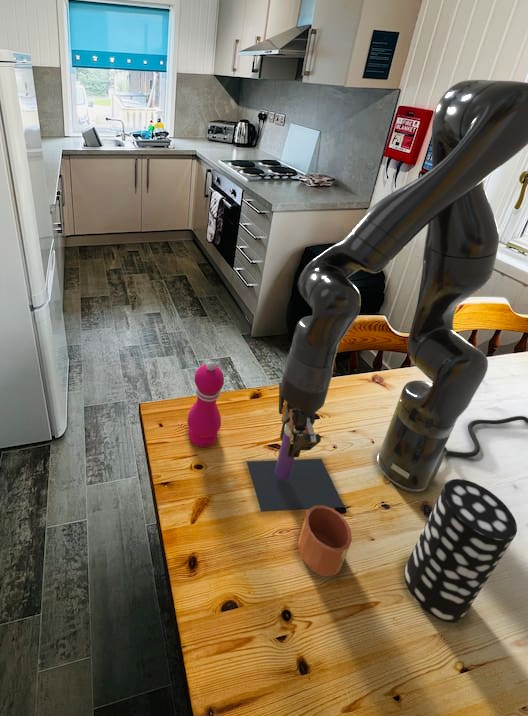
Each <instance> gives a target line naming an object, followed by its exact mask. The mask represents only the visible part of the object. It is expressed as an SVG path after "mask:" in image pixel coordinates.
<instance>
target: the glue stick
mask: <svg viewBox="0 0 528 716" xmlns="http://www.w3.org/2000/svg"><path fill="white" fill-rule="evenodd" d="M290 434H291V432H290V430H289V422H287V423H286V424H285V428H284V435H283V439H282V441H281V443H280V448H279V451H278V456H277V464H276V468H275V474H276V475H277V477H278V478H280V479H282V480H286V479H288V478H289V476H290V472H291V469H292V465H293V461H294V460H295V457H288V456H287V453H286V452H287V448H288V444H289V440H290ZM296 437H301V434H297V435H296Z"/></svg>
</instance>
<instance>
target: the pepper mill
mask: <svg viewBox="0 0 528 716" xmlns="http://www.w3.org/2000/svg"><path fill="white" fill-rule="evenodd" d="M194 373H195V374H194V384H195V394H196V396H197V398H196V401H195V403H193V405H192V406H191V407H190V409H189V411H188V413H187V419H186V421H187V426H188V432H187V434H188V435H187V436H188V438H189V440H190V442H191V443H193V444H194V445H195V446H196V447H199V448H200V447H201V448H208V447H211V446H213V445H214V444H215V443H216V441H217V439H218V432H219V431H220V428H221V426H222V416H221V413H220V410H219V408H218V405H217V400H218V399H219V398H220V394H221V389H223V386H224V384H225V377H224V374H223V373H224V372H223V371H222V370H221V368H219V367H218V366H216V364H215V363H214V361H208V362H206V363H205V364H202V365H200V366H199V367H198V368H197V369H196V371H195V372H194Z"/></svg>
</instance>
